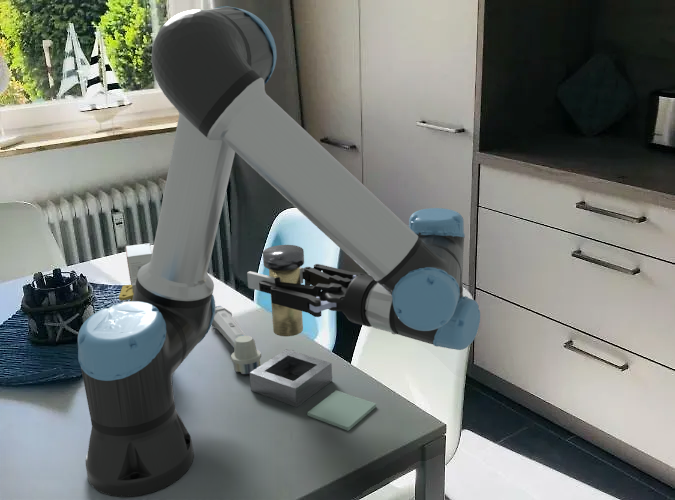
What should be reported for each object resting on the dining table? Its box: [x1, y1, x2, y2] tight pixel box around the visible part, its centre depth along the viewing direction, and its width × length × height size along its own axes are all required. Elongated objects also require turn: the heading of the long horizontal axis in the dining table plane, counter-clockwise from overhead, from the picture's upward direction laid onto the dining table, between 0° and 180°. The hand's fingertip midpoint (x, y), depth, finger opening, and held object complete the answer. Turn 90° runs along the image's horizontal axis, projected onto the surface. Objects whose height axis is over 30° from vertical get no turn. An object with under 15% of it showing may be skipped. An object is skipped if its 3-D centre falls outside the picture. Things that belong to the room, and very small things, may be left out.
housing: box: [249, 348, 333, 408], centre depth 124 cm, size 10×10×4 cm
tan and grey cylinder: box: [262, 244, 305, 337], centre depth 119 cm, size 7×7×14 cm
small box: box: [125, 242, 153, 285], centre depth 166 cm, size 8×6×10 cm
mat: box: [306, 389, 377, 431], centre depth 117 cm, size 8×8×1 cm
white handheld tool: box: [211, 305, 262, 375], centre depth 139 cm, size 5×7×25 cm
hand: (260, 274), depth 121 cm, fingers closed on tan and grey cylinder, 5 cm apart
